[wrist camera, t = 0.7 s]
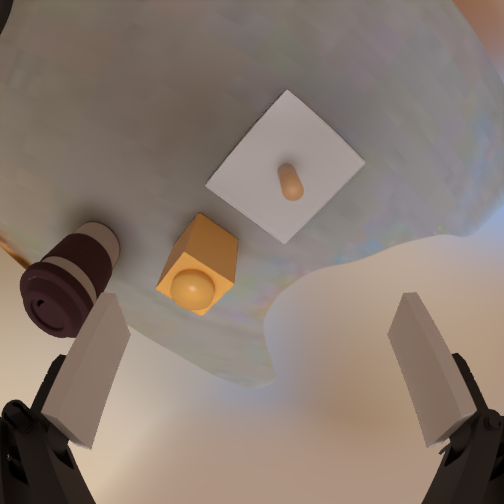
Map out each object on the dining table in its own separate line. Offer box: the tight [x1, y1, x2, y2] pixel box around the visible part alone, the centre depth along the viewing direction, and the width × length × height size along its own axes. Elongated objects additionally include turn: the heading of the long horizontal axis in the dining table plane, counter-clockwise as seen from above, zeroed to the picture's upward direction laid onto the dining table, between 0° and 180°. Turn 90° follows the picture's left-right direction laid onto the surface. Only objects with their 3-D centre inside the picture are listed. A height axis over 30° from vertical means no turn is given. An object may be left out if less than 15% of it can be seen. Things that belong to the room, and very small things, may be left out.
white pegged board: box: [205, 89, 366, 245], centre depth 30 cm, size 12×14×7 cm
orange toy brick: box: [156, 212, 238, 316], centre depth 33 cm, size 6×6×10 cm
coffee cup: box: [20, 222, 120, 338], centre depth 31 cm, size 10×10×15 cm
